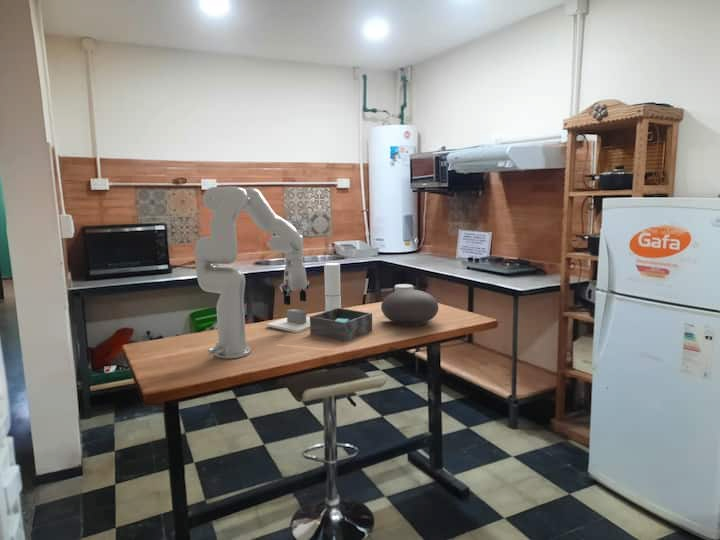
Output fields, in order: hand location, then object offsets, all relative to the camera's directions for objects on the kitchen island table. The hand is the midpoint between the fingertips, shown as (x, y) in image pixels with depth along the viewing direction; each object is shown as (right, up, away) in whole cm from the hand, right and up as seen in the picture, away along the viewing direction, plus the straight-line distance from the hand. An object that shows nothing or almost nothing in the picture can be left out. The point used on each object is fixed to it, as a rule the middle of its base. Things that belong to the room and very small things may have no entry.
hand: (295, 302), depth 211 cm
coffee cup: (+49, -6, +28) cm, 57 cm away
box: (+20, -12, -11) cm, 26 cm away
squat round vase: (+50, -10, +3) cm, 51 cm away
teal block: (+20, -11, -11) cm, 26 cm away
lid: (+1, -11, +2) cm, 11 cm away
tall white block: (+16, -8, +16) cm, 24 cm away
